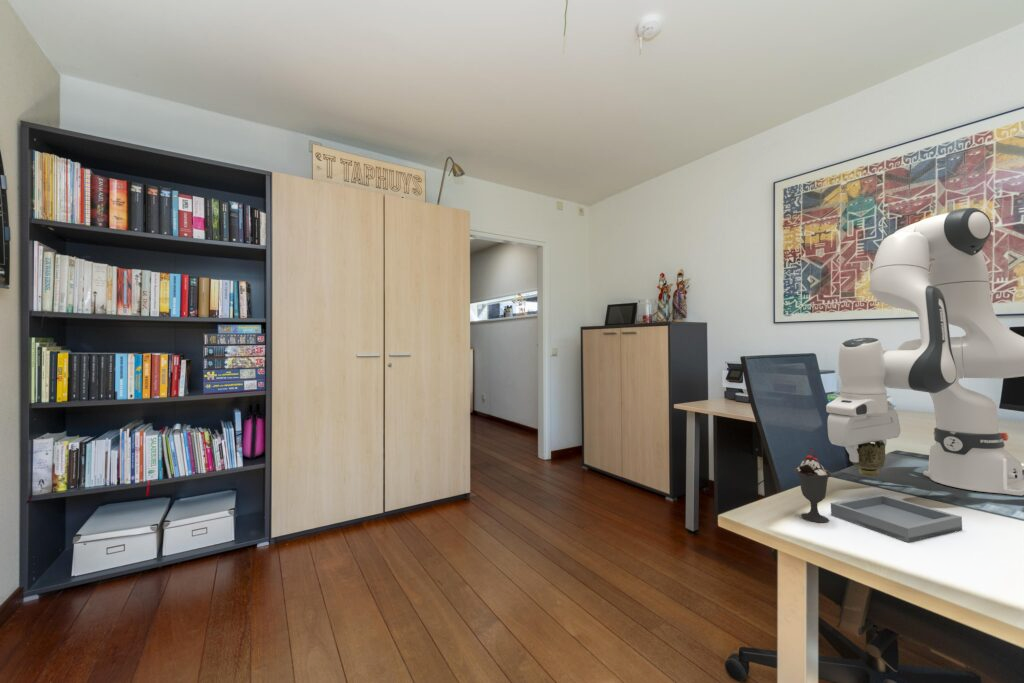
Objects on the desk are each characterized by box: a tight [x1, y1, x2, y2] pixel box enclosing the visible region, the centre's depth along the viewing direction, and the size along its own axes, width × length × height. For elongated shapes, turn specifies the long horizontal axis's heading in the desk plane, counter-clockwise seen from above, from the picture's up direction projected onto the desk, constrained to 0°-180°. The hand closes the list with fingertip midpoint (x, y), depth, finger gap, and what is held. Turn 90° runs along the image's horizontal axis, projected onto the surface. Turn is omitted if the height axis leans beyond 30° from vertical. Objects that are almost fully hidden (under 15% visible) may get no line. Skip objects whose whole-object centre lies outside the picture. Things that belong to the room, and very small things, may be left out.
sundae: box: [793, 446, 833, 524], centre depth 89 cm, size 7×7×15 cm
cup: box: [851, 441, 886, 477], centre depth 101 cm, size 8×7×8 cm
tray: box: [830, 493, 963, 544], centre depth 86 cm, size 16×14×3 cm
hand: (866, 459), depth 101 cm, fingers closed on cup, 6 cm apart
